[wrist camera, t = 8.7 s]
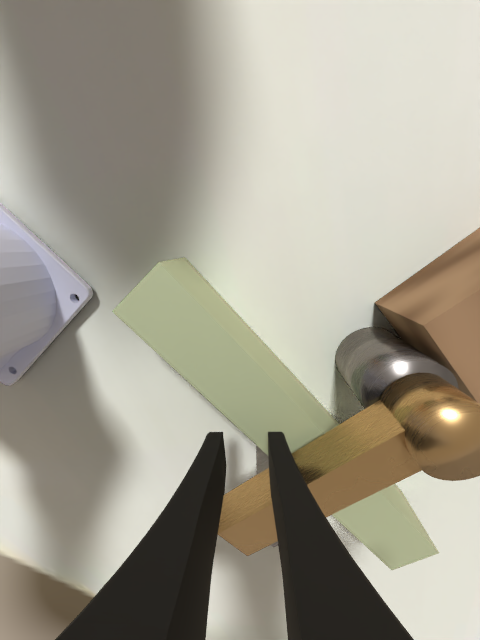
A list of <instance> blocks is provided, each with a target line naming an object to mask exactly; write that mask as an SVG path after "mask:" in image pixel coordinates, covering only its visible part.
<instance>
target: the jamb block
mask: <svg viewBox="0 0 480 640" xmlns="http://www.w3.org/2000/svg"><path fill="white" fill-rule="evenodd" d="M375 304H376V305H377V307H378V308H379V309H380V311H381V312H382V313H383V315H384V316H385V317H386V319H387V320H388V321H389V323H390V324H391V325H392V327H393V328H394V329H395V331H396V332H397V334H398V335H399V336H400V338H401V339H402V340H403V341H405V342H406V343H408V344H409V345H411V346H413V347H414V348H416V349H417V350H419V351H420V352H422V353H424V354H425V355H427V356H428V357H430V358H432V359H433V360H435V361H436V362H438V363H439V364H441V365H443V366H444V367H446V368H447V369H448V370H450V371H451V372H452V374H453V375H454V376H455V378H456V380H457V383H458V388H459V390H460V391H462V392H463V393H465V394H466V395H467V396H469V397H470V398H472V399H473V400H475V401H476V402H477V403H479V404H480V228H479V229H477V230H476V231H474V232H473V233H472V234H470V235H469V236H467V237H466V238H465V239H463V240H462V241H460V242H459V243H458V244H456V245H455V246H453V247H452V248H451V249H449V250H448V251H446V252H445V253H444V254H442V255H441V256H439V257H438V258H437V259H435V260H434V261H432V262H431V263H430V264H428V265H427V266H425V267H424V268H423V269H421V270H420V271H418V272H417V273H416V274H414V275H413V276H411V277H410V278H409V279H407V280H406V281H404V282H403V283H402V284H400V285H399V286H397V287H396V288H395V289H393V290H392V291H390V292H389V293H388V294H386V295H385V296H383V297H382V298H381V299H379V300H378V301H376V302H375Z"/></svg>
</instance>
